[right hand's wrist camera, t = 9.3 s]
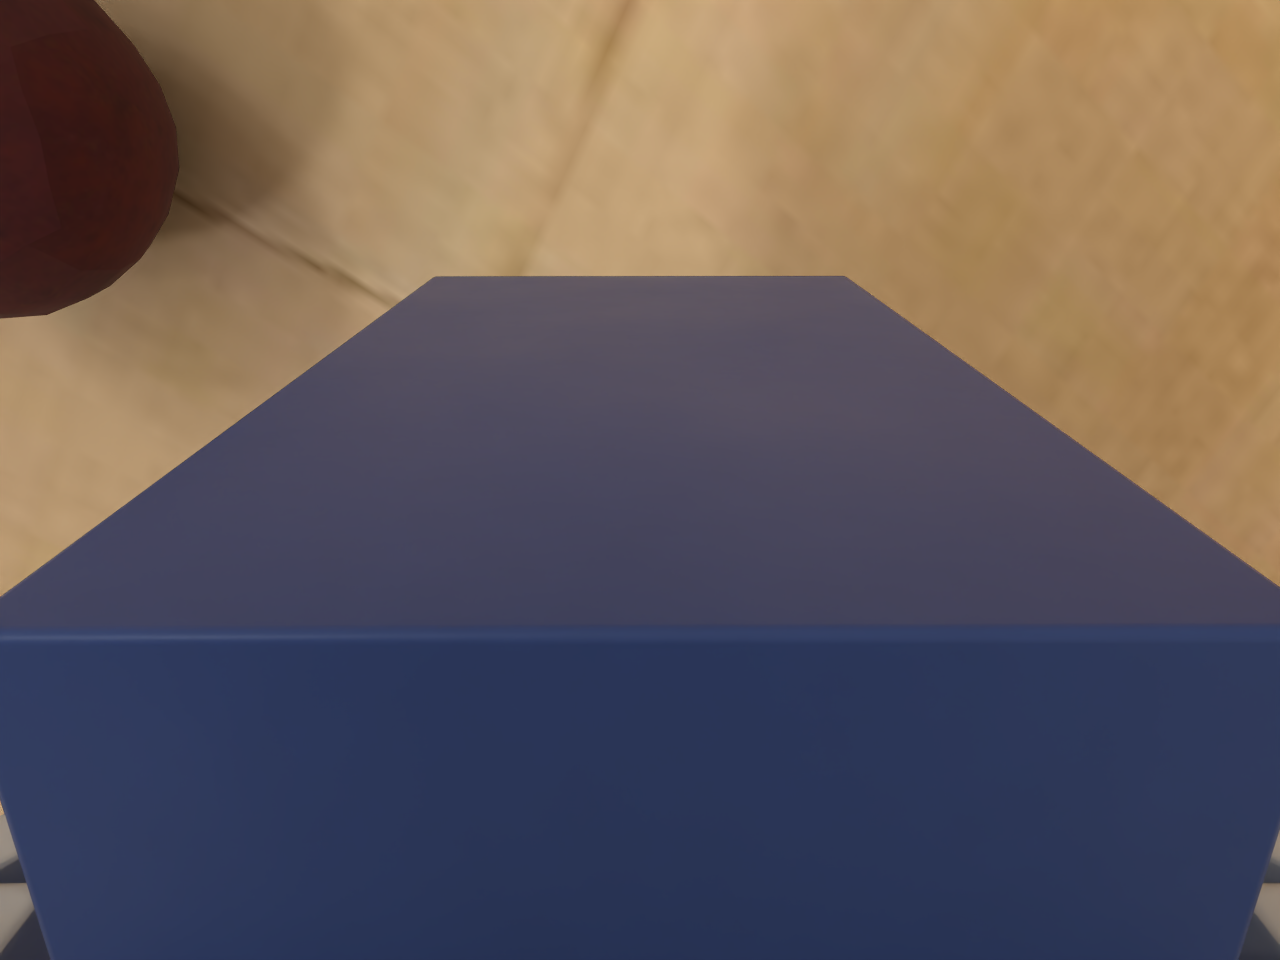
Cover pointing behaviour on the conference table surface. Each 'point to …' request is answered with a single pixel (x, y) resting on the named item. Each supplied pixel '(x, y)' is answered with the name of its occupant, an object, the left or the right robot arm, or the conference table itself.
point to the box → (642, 659)
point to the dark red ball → (76, 154)
